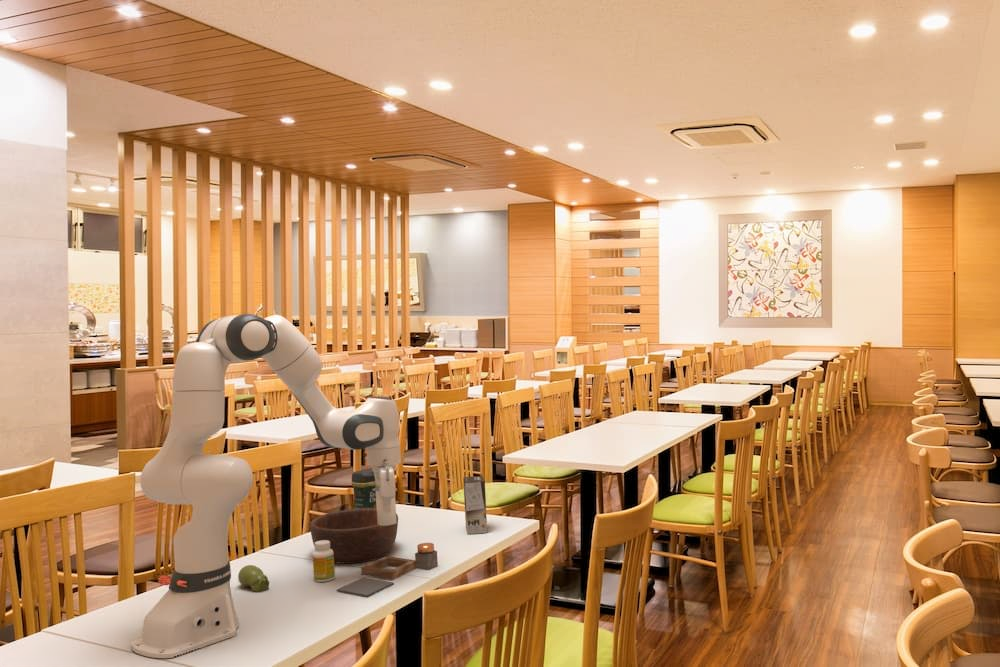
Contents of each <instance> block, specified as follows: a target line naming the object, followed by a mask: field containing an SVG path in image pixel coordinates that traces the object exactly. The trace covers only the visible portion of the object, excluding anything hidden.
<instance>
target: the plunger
mask: <svg viewBox="0 0 1000 667" xmlns="http://www.w3.org/2000/svg"><path fill="white" fill-rule="evenodd" d="M416 547H417V552H419V553H423V554H428V553H429V552H433V551H435V544H434V543H432V542H422V543H419V544H417V546H416Z"/></svg>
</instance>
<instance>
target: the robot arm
mask: <svg viewBox="0 0 1000 667" xmlns="http://www.w3.org/2000/svg"><path fill="white" fill-rule="evenodd" d="M261 358H262V359H263V360H264V361H265V362H266V363H267V365H268V366H269V367H270V369H271V370H272V371H273V372H274V373H275V374H276V376H277V377H278V378H279V379H280V380H281V382H283V383H284V385H285V386H287V388H288V389H289V391H290V392H291V394H292V395H293V396H294V398H295V399H296V400H297V402H298V403H299V405H300V406H301V407H302V409H303V410H304V412H305V413H306V414H307V415H308V417H309V418H310V420H311V421H312V424H313V427H314V429H315V433H316V435H317V437H318V440H319V441H320V442H321V444H323V446H325V447H327V448H332V449H333V448H334V449H344V450H352V451H360V450H363V449H366V465H367V466H369V467H371V468H372V471H374V476H375V482H376V485H378V487H379V493H380V496H381V498H382V499H383V508H384V512H385V513H389V512H391V499H393V498H395V499H396V482H395V481H396V480H395V479H396V478H395V471H396V470H397V465H400V464H401V463H402V459H401V456H402V455H401V443H400V438H399V432H400V419H399V410H398V405H397V403H396V401H395V400H394V399H393V398H391V397H384V396H369V397H367V398H366V400H365V401H364V402H363V403H362V404H361V405H360V406H358V407H357V408H354V409H353V410H351V411H346V410H342V409H338V408H337V407H335V406H333V405H332V404H331V402H330V401H329V399H328V398H327V397H326V395H325V394H324V393H323V391H322V390H321V388H320V387H319V385H318V383H317V380H318V379H319V378H320V376H321V373H322V371H323V370H322V369H323V361H322V359H321V357H320V355H319V354H318V352H317V350H316V348H315V347H314V346H313V344H311V342H310V340H308V338H306V336H305V335H304V334H303V333H302V332H301V331H300V329H298V328H297V327H296V326H295V325H294V324H293V323H292V322H290V320H288V319H287V318H286V317H284V316H283V315H279V314H273V315H269V316H266V317H264V318H262V317H261V316H259V315H256V314H251V313H242V314H230V315H225V316H222V317H220V318H215V319H212V320H211V321H208V322H207V323H206V324H205V325H204V326H203V327H202V329H201V330H200V331H199V334H198V336H197V338H196V340H195V342H191V343H188V344H185V345H184V346H183V347H181V348H180V349H179V351H178V353H177V356H176V359H175V365H174V369H173V375H172V376H173V378H172V390H171V391H172V392H171V397H172V398H171V412H170V422H169V430H168V432H167V434H166V435H167V436H166V438H165V440H164V442H163V444H162V446H161V448H160V450H158V452H157V453H156V455H154V457H153V458H151V459H150V460H148V461H147V463H146V464H145V466H143V468H142V472H141V474H140V488H141V492H143V495H144V496H145V497H146V498H147V499H149V500H150V501H154V502H158V503H161V504H167V505H191V506H192V514H191V518H190V520H188V521H187V522H186V523H184V524H183V525H181V526H180V527H179V528H178V529H177V530H176V532H175V533H174V536H173V556H174V569H173V571H172V574H171V576H169V575H166V574H162V575H159V578H158V584H160V585H164V586H168V589H167V591H166V592H165V593H164V594H163V596H162V597H161V598H160V599H159V600H158V601H157V603H156V604H155V605H154V606H153V607H152V608H151V610H150V611H148V613H147V614H146V615H145V617H144V619H143V625H142V636H141V637H138V638H137V639H135V640H133V641H132V642H131V645H130V648H131V650H132V651H133V652H134V653H136V654H137V655H141V656H143V657H148V658H155V659H171V658H175V657H174V656H176V657H178V656H177V655H179V656H181V655H184V654H186V652H187V653H190V652H192V651H191V650H193V651H195V649H196V650H198V648H199V649H201V648H203V647H207V646H210V645H213V644H215V643H218V642H221V641H224V640H227V639H229V638H232V637H235V636H237V629H238V627H239V626H240V620H239V618H238V616H237V612H236V609H235V606H234V605H235V604H234V601H233V596H232V591H231V583H230V582H231V578H232V573H231V572H232V571H231V563H230V561H229V556H228V554H229V553H228V529H229V524H230V520H231V517H232V515H233V513H234V511H235V509H236V508H237V506H238V505H239V504H240V503H242V501H243V500H245V499H246V498H247V496H248V495H249V493H250V492H251V489H252V488H253V482H254V474H253V471H252V467H251V466H250V464H249V462H248V461H247V460H246V459H244V458H241V457H237V456H235V455H231V454H230V455H229V454H225V453H224V454H222V453H221V454H217V453H216V454H213V453H212V454H204V450H205V449H204V448H205V447H206V446H205V445H206V443H207V441H208V439H210V438H211V437H213V436H215V435H216V434H217V433H218V432H220V431H221V430H222V428H223V426H224V424H225V406H226V405H225V402H226V400H225V398H226V396H225V395H226V394H225V393H226V388H225V387H226V384H225V383H226V382H225V380H226V379H225V378H226V373H227V370H228V368H229V365H230V364H231V363H232V364H239V363H244V362H249V361H255V360H257V359H261ZM189 651H190V652H189ZM183 653H184V654H183ZM180 654H181V655H180Z"/></svg>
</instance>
